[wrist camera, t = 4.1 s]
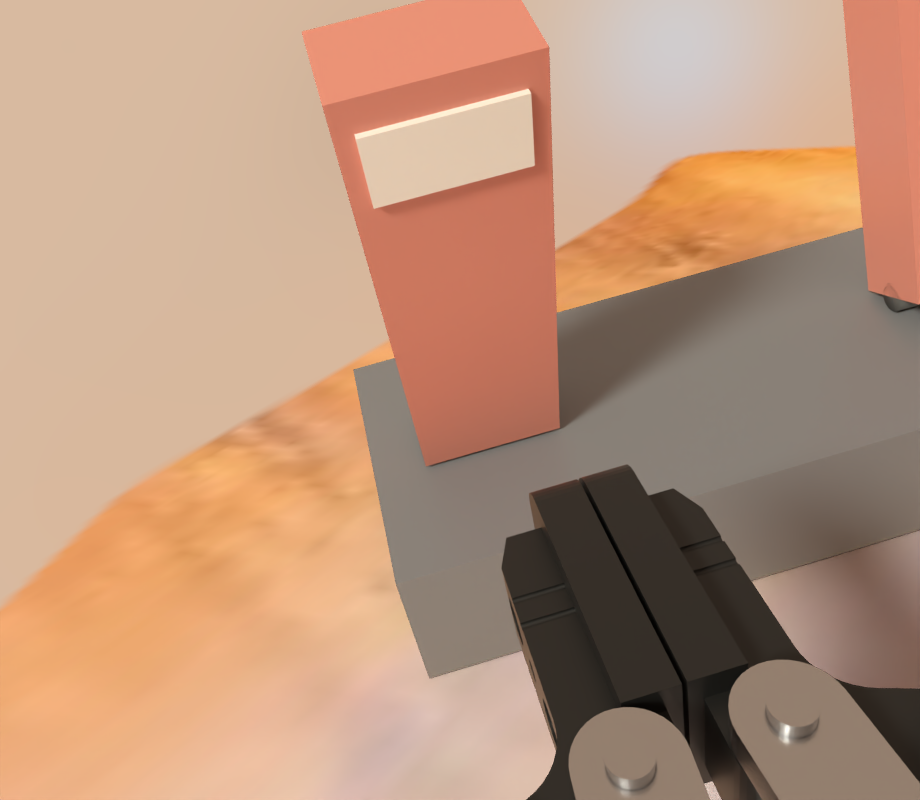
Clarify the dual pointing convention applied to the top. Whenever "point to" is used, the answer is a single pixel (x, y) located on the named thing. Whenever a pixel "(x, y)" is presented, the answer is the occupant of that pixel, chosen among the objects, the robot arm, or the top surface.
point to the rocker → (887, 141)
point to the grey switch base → (675, 434)
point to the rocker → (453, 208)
